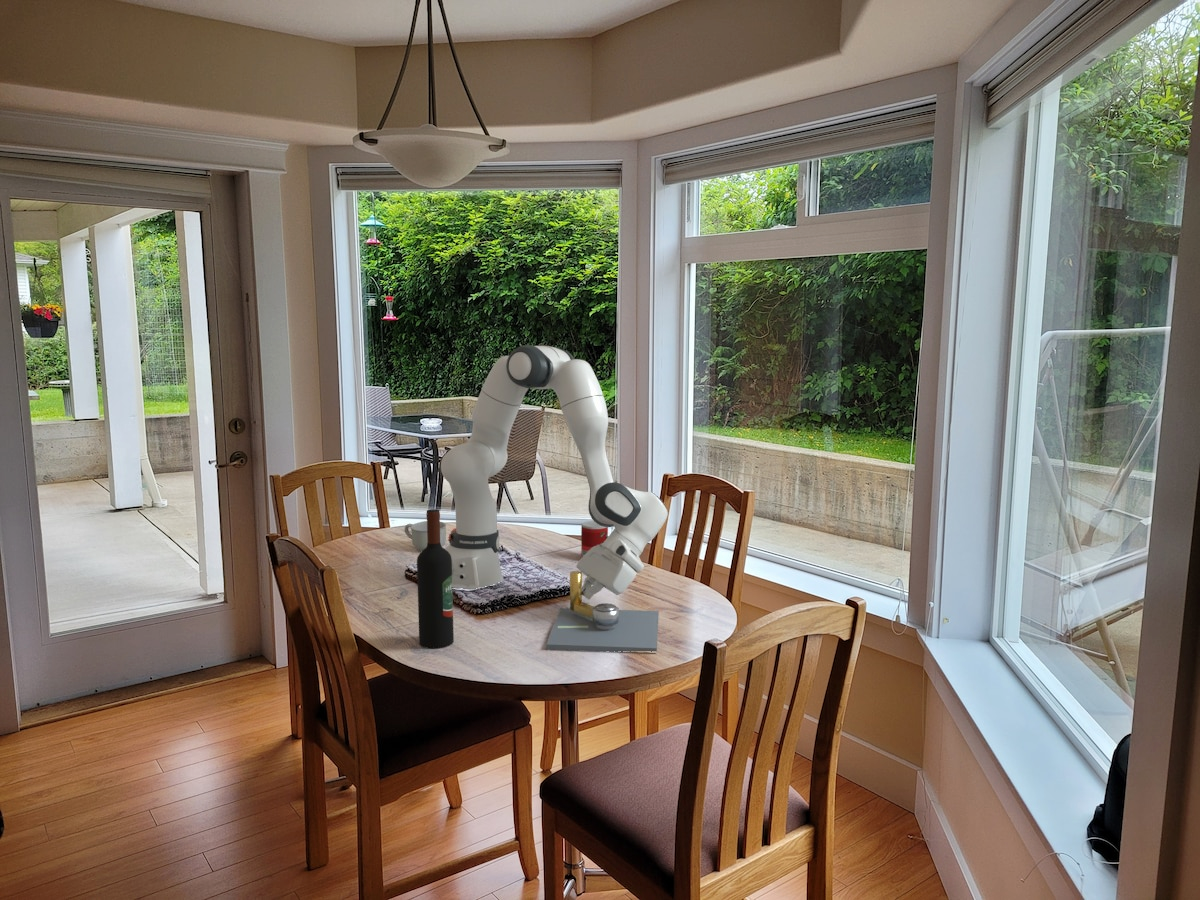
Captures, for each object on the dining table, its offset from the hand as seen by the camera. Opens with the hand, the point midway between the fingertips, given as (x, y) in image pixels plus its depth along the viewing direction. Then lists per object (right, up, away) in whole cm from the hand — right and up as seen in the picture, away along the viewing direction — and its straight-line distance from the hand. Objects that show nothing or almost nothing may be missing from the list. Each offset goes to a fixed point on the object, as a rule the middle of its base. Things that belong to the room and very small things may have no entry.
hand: (583, 596), depth 205 cm
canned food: (+2, +2, +52) cm, 52 cm away
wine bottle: (-33, -8, -15) cm, 37 cm away
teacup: (-51, +4, +63) cm, 81 cm away
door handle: (+2, -4, -5) cm, 7 cm away
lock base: (+5, -7, -8) cm, 12 cm away
